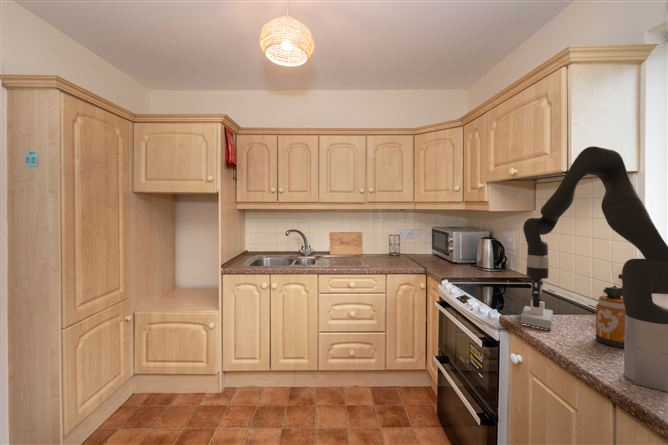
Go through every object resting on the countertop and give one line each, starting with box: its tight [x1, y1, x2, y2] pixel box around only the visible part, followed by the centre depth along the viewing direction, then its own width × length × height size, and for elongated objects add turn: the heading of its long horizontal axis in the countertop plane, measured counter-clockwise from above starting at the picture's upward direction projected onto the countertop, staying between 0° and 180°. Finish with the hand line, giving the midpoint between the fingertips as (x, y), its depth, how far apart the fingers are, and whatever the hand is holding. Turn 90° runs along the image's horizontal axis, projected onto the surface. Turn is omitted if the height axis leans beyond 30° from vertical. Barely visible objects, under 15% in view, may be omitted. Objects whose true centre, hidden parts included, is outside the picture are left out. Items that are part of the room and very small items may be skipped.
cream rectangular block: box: [529, 299, 545, 315], centre depth 124 cm, size 4×4×8 cm
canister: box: [595, 285, 625, 348], centre depth 104 cm, size 9×11×20 cm
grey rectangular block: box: [520, 305, 554, 331], centre depth 124 cm, size 16×10×4 cm, turn 142°
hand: (536, 304), depth 123 cm, fingers open, 8 cm apart
